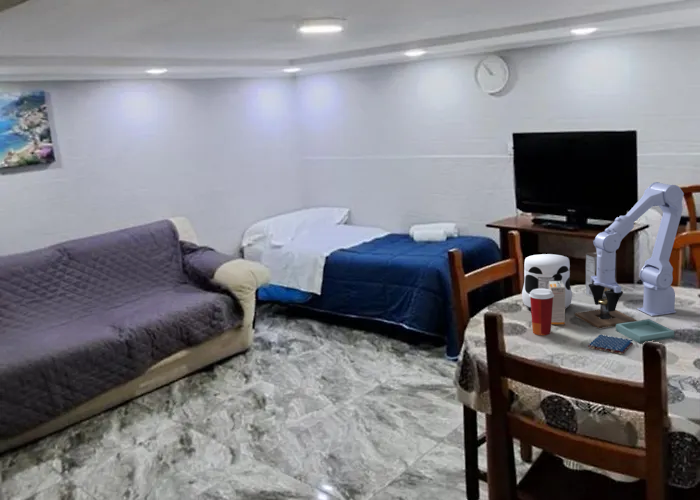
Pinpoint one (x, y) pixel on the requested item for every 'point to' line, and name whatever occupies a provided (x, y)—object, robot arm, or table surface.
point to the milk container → (545, 275)
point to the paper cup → (541, 311)
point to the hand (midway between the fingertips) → (604, 307)
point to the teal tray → (644, 331)
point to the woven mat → (610, 344)
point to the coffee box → (594, 271)
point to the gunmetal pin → (604, 309)
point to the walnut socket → (614, 319)
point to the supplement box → (558, 302)
